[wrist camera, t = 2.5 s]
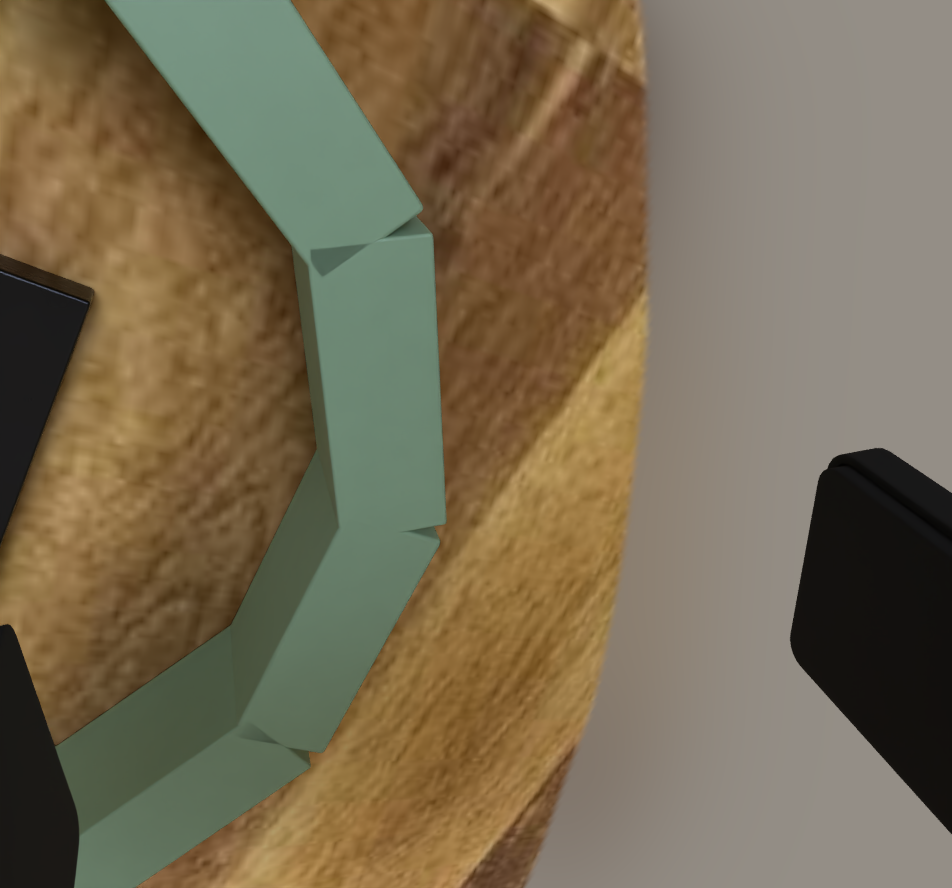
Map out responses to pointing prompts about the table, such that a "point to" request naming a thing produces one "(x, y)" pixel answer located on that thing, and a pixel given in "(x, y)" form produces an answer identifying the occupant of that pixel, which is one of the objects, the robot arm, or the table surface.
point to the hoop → (329, 473)
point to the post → (32, 364)
